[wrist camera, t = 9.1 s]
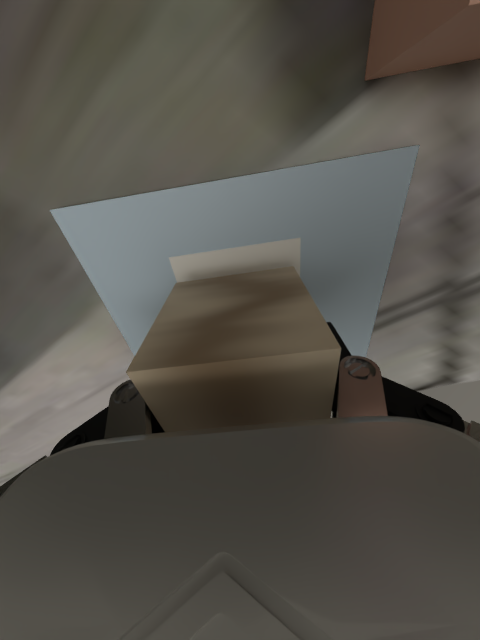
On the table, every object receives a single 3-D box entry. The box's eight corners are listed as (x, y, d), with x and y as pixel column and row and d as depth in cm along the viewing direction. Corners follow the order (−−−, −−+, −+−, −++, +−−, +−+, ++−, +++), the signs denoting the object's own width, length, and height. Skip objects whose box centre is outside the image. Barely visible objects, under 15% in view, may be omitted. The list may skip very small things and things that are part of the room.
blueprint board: (410, 146, 10) (421, 144, 10) (360, 358, 18) (364, 364, 17) (57, 208, 12) (48, 210, 11) (154, 380, 19) (151, 386, 19)
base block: (293, 266, 11) (341, 348, 6) (294, 354, 14) (324, 453, 9) (175, 282, 11) (126, 372, 6) (203, 364, 14) (186, 464, 10)
